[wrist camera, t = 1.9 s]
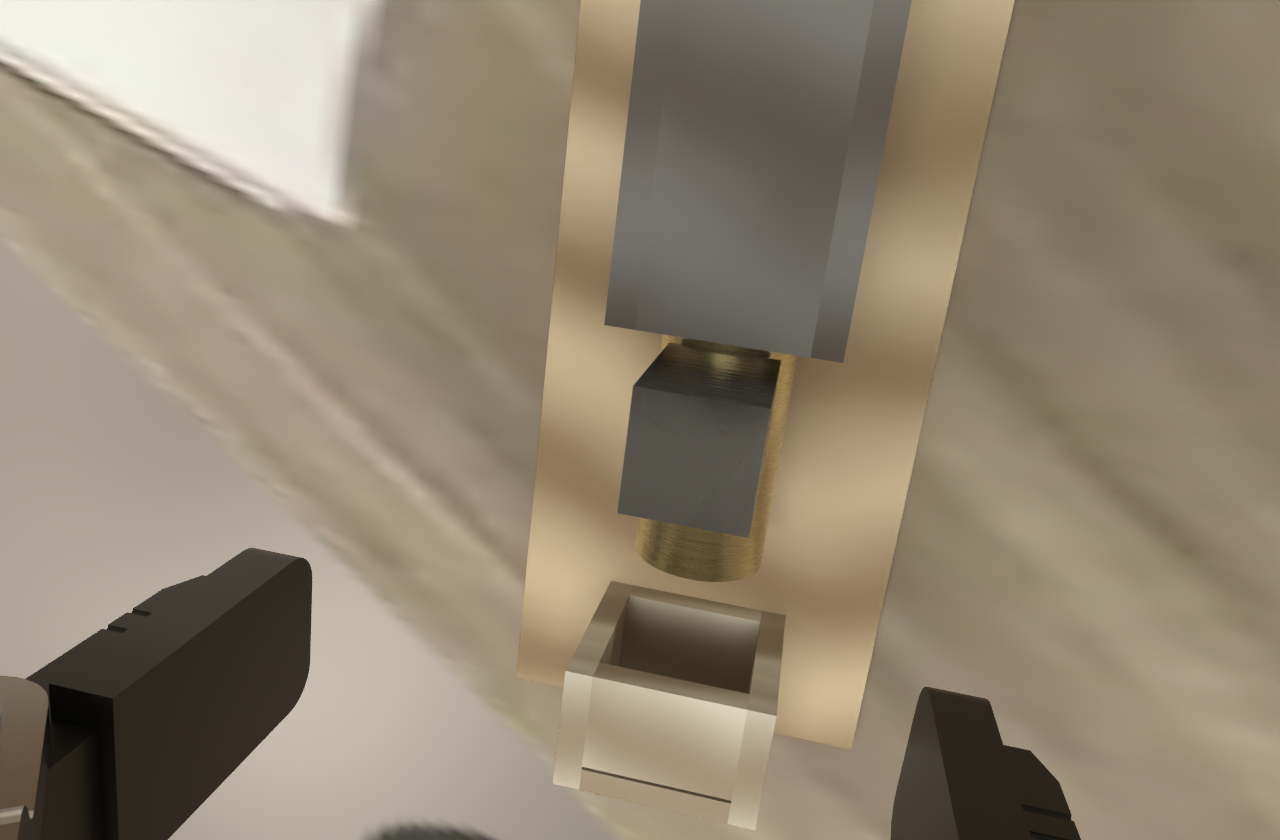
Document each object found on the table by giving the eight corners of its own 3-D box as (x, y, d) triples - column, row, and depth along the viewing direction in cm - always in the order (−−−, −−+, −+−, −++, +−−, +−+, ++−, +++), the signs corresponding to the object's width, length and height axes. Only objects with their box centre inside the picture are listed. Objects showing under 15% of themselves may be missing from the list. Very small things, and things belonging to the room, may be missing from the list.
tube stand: (608, -196, 27) (538, -309, 21) (1044, -163, 25) (1120, -274, 19) (524, 663, 35) (454, 781, 29) (850, 732, 34) (856, 875, 27)
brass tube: (724, -64, 26) (678, -161, 18) (867, -51, 25) (886, -144, 17) (647, 517, 31) (583, 645, 23) (765, 540, 30) (742, 679, 22)
